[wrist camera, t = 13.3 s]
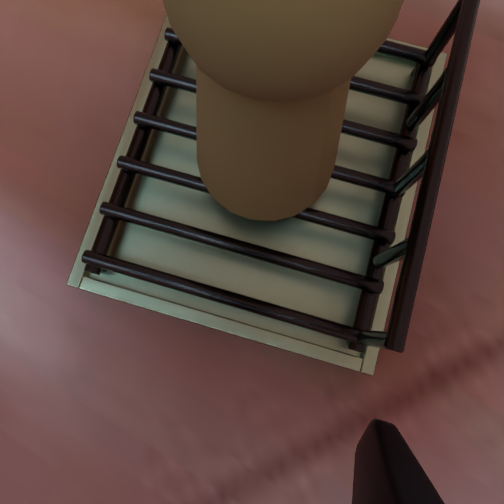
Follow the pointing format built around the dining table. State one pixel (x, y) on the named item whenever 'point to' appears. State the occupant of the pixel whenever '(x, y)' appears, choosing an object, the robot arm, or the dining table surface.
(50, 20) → the dining table surface
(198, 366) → the dining table surface
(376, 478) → the robot arm
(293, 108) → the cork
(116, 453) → the dining table surface
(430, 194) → the dish rack
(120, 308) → the dining table surface
